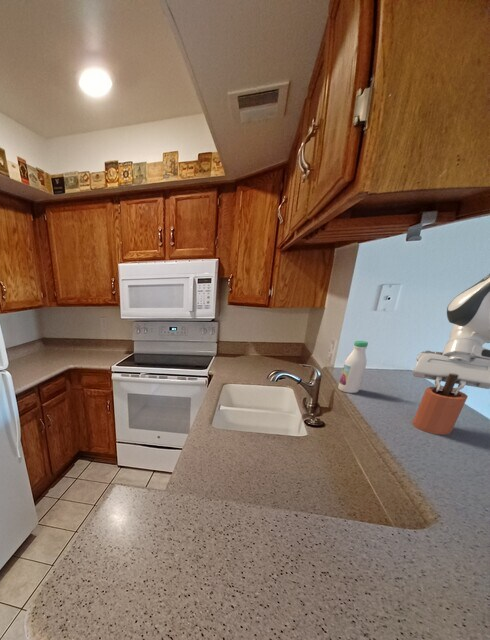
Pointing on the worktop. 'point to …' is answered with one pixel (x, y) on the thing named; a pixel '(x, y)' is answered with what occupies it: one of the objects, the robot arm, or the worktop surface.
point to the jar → (438, 411)
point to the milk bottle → (354, 368)
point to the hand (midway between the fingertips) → (446, 393)
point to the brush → (449, 384)
